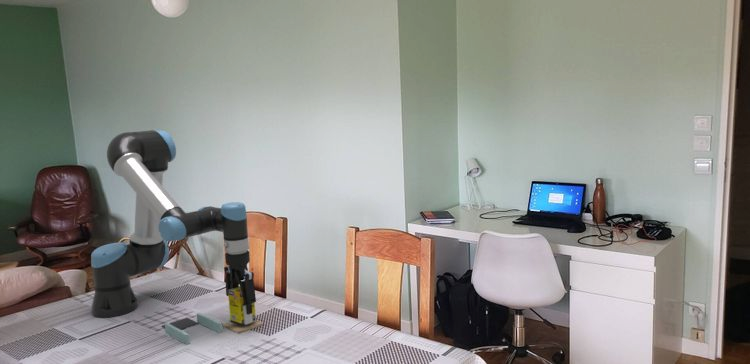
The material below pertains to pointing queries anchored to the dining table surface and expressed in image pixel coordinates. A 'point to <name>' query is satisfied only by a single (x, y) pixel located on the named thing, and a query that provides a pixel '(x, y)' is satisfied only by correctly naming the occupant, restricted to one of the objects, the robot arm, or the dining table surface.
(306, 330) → the dining table surface
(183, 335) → the channel
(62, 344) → the dining table surface
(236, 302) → the supplement box
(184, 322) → the mat
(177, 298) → the dining table surface
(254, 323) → the pad
